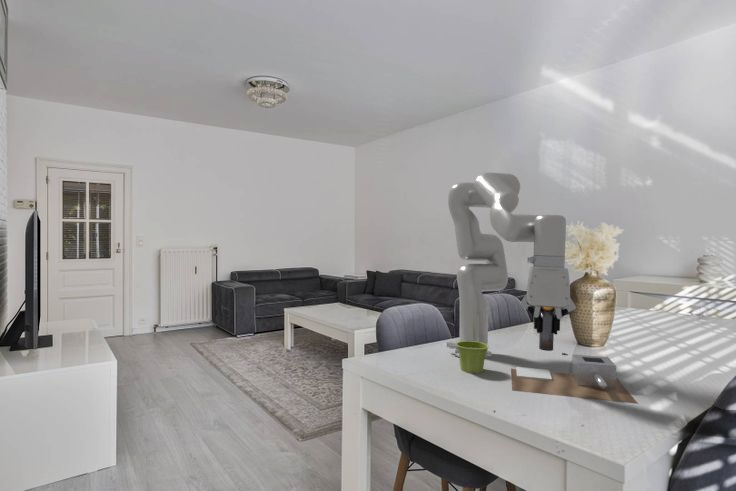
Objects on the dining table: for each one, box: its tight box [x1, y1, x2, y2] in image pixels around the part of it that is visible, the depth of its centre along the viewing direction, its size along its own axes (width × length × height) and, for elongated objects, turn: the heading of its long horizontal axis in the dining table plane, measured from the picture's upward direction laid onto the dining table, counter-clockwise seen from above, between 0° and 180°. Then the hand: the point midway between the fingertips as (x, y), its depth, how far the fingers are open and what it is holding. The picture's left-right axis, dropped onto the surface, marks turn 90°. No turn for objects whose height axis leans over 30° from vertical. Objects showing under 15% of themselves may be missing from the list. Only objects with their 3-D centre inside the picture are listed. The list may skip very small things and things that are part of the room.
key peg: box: [538, 307, 555, 352], centre depth 110 cm, size 3×3×12 cm
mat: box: [515, 366, 552, 381], centre depth 121 cm, size 9×9×1 cm
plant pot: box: [455, 341, 489, 374], centre depth 125 cm, size 9×9×9 cm
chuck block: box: [571, 354, 617, 389], centre depth 111 cm, size 9×17×6 cm, turn 162°
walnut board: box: [510, 368, 639, 405], centre depth 113 cm, size 28×20×1 cm
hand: (546, 331), depth 110 cm, fingers closed on key peg, 3 cm apart
